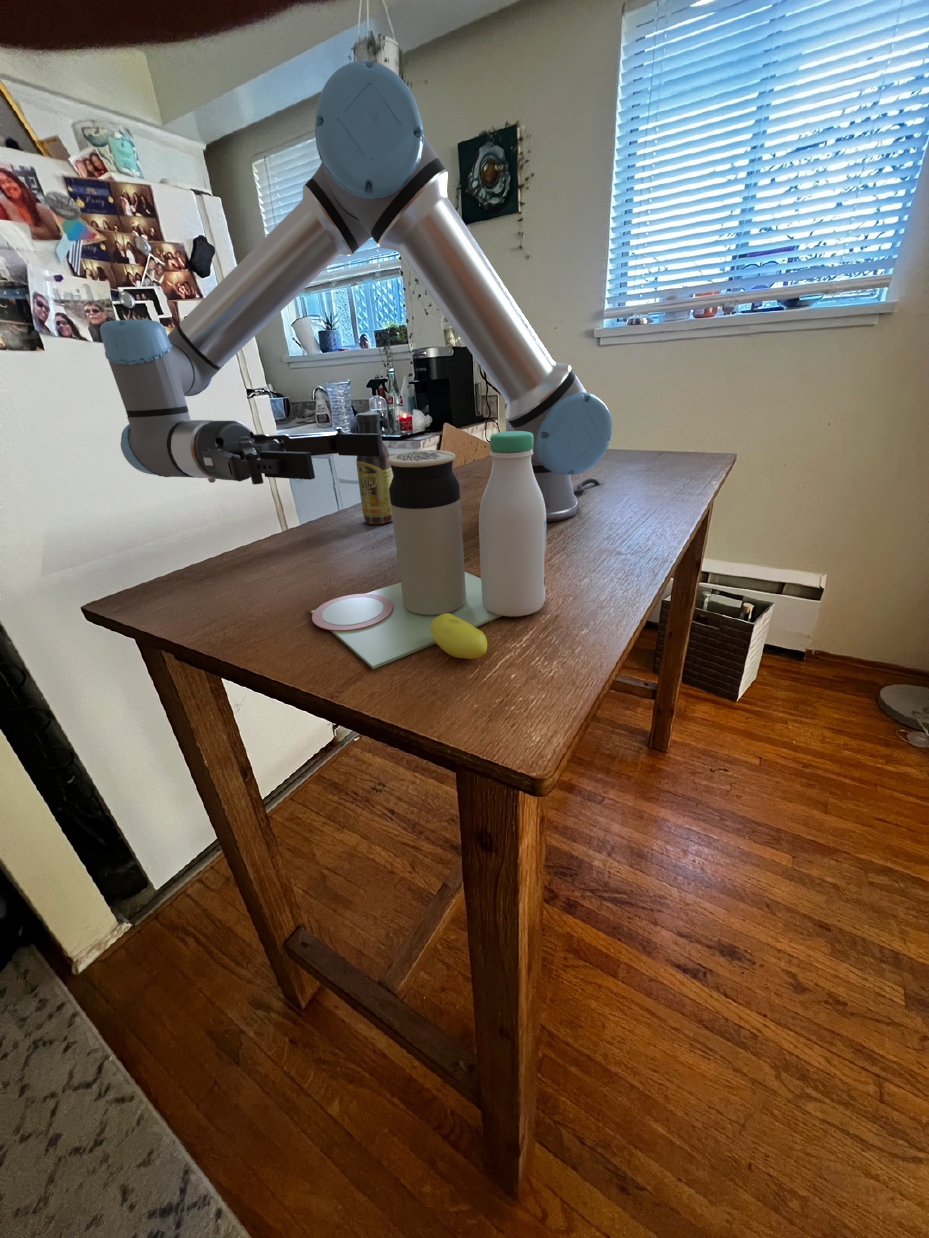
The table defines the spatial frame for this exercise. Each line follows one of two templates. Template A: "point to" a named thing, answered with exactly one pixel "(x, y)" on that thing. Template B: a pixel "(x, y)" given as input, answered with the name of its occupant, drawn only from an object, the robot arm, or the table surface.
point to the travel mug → (428, 531)
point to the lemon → (458, 637)
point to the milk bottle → (512, 529)
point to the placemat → (391, 622)
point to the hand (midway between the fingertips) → (348, 454)
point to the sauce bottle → (374, 476)
